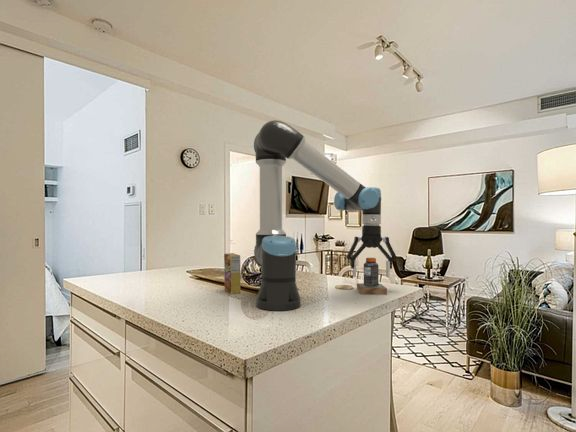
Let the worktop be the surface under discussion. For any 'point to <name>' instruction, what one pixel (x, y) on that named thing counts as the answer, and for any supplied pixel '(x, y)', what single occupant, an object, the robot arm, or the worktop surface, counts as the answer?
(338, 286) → the cork coaster
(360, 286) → the walnut stand
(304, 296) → the worktop surface
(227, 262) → the candy box
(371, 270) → the pill bottle
